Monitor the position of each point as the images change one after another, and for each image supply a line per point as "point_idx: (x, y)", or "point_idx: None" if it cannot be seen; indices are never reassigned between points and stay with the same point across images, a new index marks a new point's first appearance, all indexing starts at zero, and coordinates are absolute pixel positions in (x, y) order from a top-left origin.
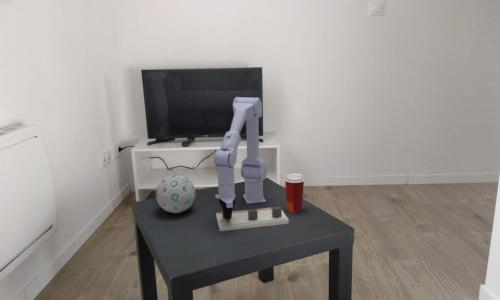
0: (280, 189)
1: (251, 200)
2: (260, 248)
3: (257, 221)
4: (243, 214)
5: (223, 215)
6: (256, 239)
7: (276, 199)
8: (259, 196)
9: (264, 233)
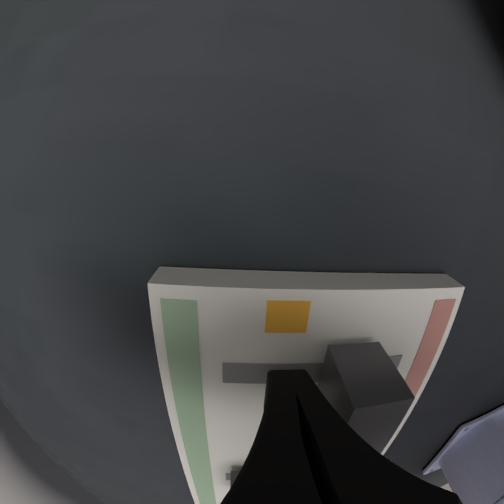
0: None
1: (459, 444)
2: (6, 394)
3: (208, 483)
4: None
5: (334, 372)
6: (62, 417)
7: None
8: (445, 475)
9: (120, 457)
